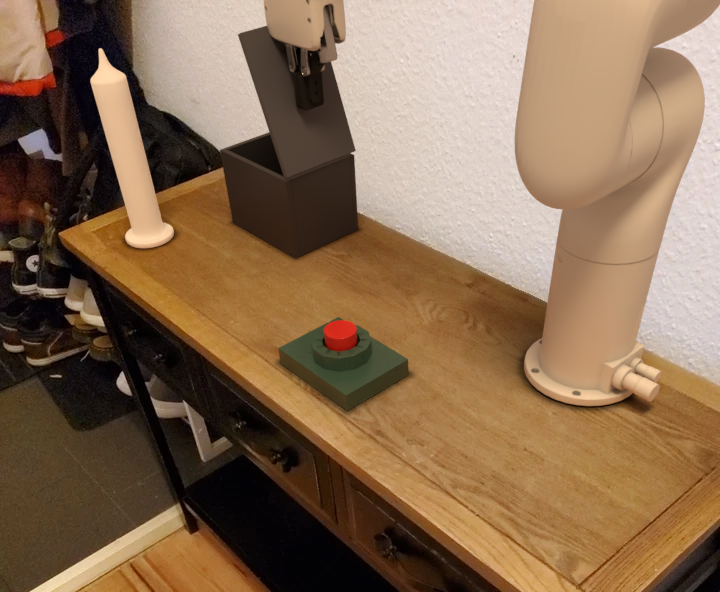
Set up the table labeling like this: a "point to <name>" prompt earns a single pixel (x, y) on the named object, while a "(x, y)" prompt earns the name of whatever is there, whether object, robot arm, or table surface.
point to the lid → (295, 108)
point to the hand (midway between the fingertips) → (310, 106)
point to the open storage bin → (289, 197)
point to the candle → (128, 157)
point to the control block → (344, 366)
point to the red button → (340, 335)
